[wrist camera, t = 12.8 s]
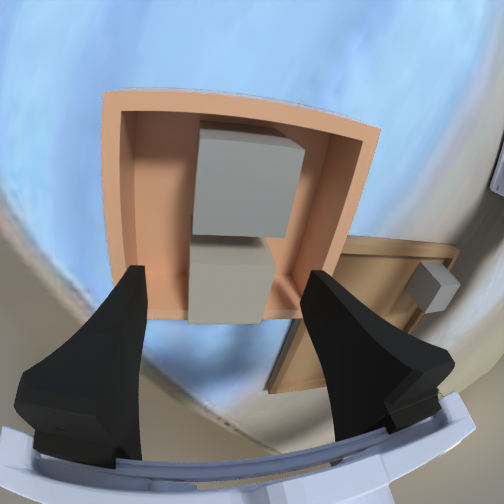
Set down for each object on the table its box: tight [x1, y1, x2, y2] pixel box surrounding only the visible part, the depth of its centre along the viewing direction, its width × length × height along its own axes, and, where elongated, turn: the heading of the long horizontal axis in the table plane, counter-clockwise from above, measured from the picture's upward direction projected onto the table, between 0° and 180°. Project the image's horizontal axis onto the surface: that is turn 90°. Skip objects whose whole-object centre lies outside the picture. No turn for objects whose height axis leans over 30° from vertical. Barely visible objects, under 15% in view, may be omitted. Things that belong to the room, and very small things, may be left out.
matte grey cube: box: [193, 120, 305, 238], centre depth 11 cm, size 3×3×4 cm
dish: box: [101, 88, 381, 320], centre depth 13 cm, size 10×10×4 cm
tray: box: [267, 235, 461, 394], centre depth 23 cm, size 13×17×1 cm
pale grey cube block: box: [188, 215, 277, 324], centre depth 14 cm, size 3×3×4 cm
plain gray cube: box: [406, 261, 461, 314], centre depth 19 cm, size 3×3×3 cm
